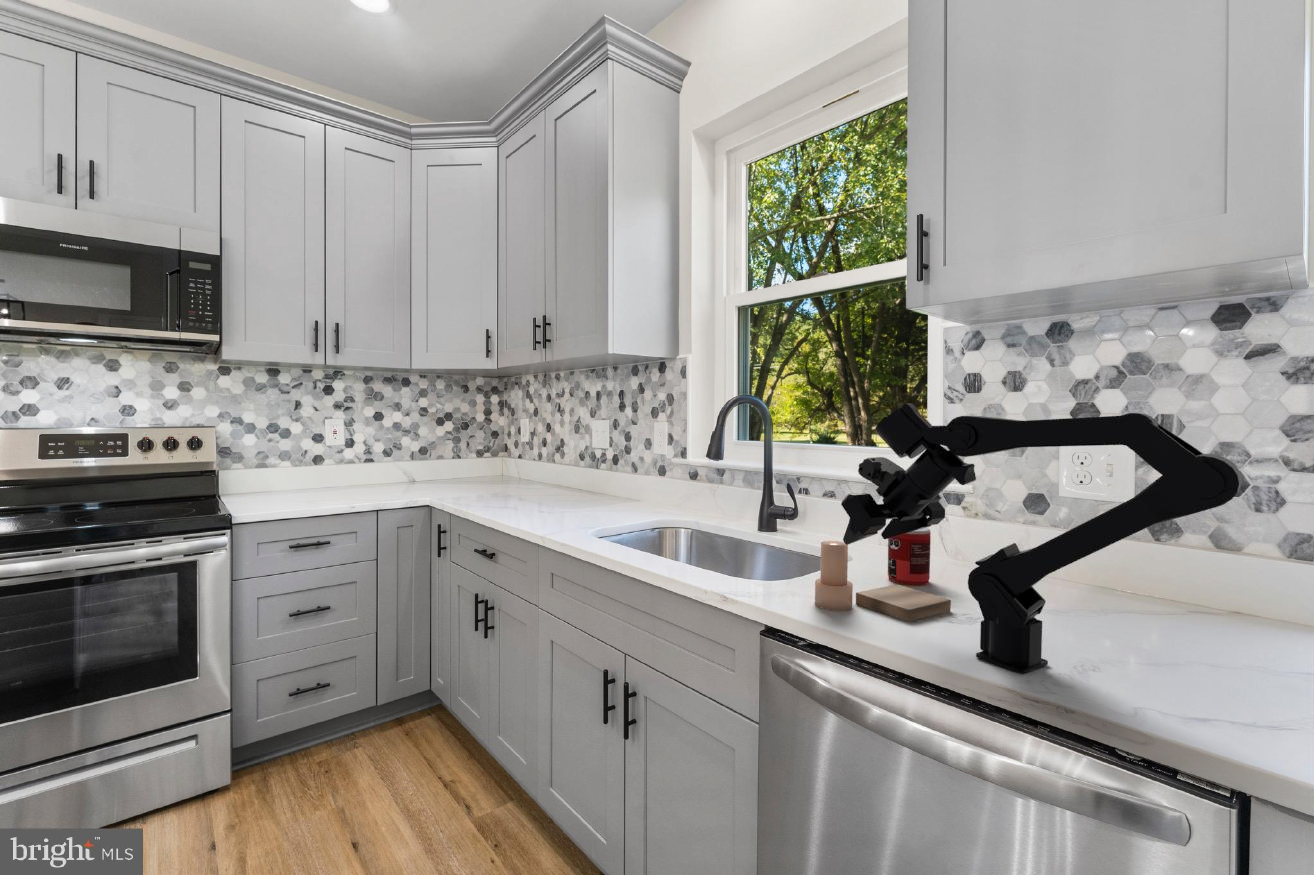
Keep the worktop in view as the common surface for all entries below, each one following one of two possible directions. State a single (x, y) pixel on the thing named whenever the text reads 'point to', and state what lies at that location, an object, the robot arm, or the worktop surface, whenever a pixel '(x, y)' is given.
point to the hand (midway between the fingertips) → (864, 539)
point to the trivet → (903, 602)
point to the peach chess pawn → (834, 578)
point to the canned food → (910, 558)
